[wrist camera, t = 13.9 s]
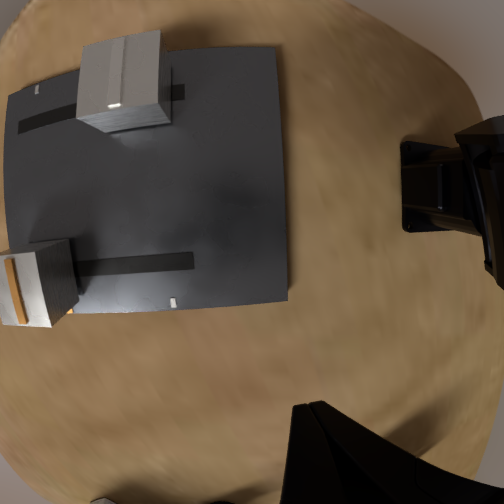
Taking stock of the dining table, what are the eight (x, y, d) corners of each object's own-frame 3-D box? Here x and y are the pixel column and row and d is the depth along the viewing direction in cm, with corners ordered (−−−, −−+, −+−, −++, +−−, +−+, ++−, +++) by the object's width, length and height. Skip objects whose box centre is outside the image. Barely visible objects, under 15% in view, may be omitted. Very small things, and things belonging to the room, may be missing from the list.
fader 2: (171, 61, 14) (160, 27, 10) (171, 122, 15) (156, 101, 11) (107, 72, 14) (81, 44, 10) (105, 132, 14) (74, 117, 10)
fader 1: (68, 238, 15) (32, 252, 11) (79, 300, 16) (49, 328, 12) (22, 244, 15) (-16, 258, 11) (34, 301, 16) (1, 326, 12)
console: (271, 54, 16) (275, 46, 15) (284, 295, 19) (287, 301, 18) (15, 98, 14) (7, 95, 13) (30, 308, 17) (22, 313, 16)
